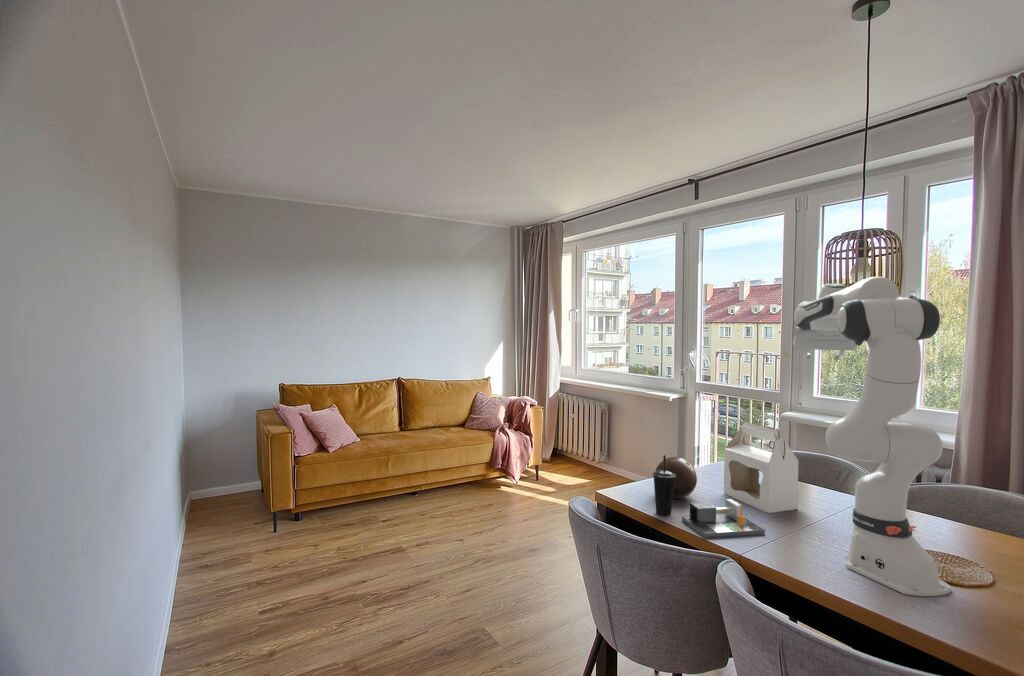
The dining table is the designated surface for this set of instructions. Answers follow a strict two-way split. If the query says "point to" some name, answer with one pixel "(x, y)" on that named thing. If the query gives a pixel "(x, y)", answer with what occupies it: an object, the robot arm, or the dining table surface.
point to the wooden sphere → (680, 476)
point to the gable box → (775, 467)
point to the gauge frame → (717, 523)
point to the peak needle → (741, 517)
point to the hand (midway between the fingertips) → (821, 358)
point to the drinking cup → (664, 490)
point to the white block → (730, 509)
